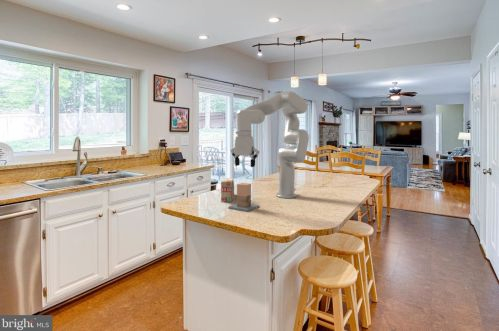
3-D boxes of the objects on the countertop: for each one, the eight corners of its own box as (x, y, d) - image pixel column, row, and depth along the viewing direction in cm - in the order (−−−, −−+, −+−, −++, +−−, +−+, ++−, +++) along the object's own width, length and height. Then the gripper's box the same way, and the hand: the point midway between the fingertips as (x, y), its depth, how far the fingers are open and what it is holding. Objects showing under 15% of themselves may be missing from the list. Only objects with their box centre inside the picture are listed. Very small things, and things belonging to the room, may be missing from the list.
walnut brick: (242, 204, 171) (242, 193, 170) (250, 205, 168) (251, 194, 167) (236, 206, 166) (236, 195, 166) (245, 207, 164) (245, 196, 163)
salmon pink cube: (242, 193, 170) (242, 182, 170) (251, 194, 168) (251, 183, 167) (236, 195, 166) (236, 184, 165) (245, 196, 163) (245, 185, 162)
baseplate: (240, 203, 176) (240, 202, 176) (259, 206, 169) (259, 205, 169) (228, 208, 165) (228, 206, 165) (247, 211, 159) (247, 209, 159)
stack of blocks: (224, 194, 201) (224, 175, 200) (234, 194, 201) (234, 175, 200) (221, 202, 180) (220, 181, 179) (231, 202, 180) (231, 181, 178)
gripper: (226, 133, 164) (227, 166, 167) (255, 134, 155) (255, 168, 158) (234, 133, 170) (235, 164, 173) (262, 133, 161) (262, 166, 164)
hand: (244, 166), depth 165 cm, fingers open, 9 cm apart
